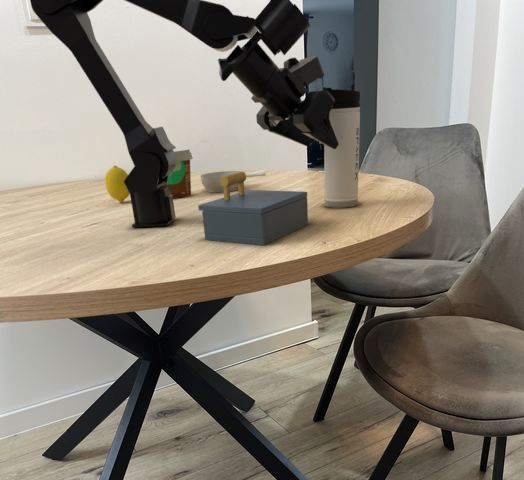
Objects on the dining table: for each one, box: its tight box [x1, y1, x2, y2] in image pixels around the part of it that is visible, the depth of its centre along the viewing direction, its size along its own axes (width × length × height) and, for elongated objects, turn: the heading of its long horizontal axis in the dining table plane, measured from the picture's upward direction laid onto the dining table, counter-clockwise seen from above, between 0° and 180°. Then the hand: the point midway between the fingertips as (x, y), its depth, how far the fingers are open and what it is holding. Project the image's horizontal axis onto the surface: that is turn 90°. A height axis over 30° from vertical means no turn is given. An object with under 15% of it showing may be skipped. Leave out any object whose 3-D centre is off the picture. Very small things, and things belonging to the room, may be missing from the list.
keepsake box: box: [201, 196, 309, 246], centre depth 81 cm, size 11×14×4 cm
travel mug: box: [322, 87, 361, 209], centre depth 93 cm, size 6×7×20 cm
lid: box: [197, 171, 308, 214], centre depth 79 cm, size 11×14×4 cm
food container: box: [163, 149, 193, 200], centre depth 116 cm, size 12×6×10 cm, turn 76°
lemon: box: [104, 165, 130, 203], centre depth 115 cm, size 6×6×8 cm
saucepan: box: [199, 170, 267, 193], centre depth 122 cm, size 11×18×4 cm, turn 54°
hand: (322, 145), depth 91 cm, fingers open, 9 cm apart
